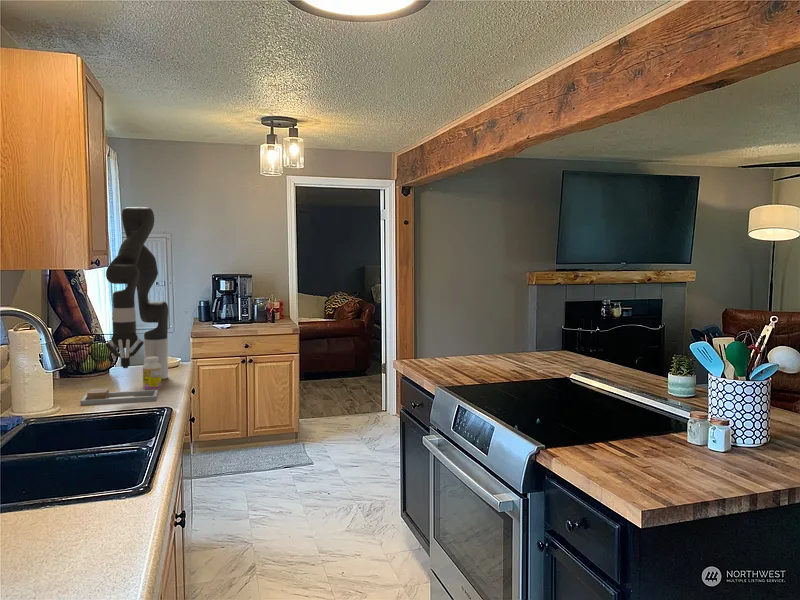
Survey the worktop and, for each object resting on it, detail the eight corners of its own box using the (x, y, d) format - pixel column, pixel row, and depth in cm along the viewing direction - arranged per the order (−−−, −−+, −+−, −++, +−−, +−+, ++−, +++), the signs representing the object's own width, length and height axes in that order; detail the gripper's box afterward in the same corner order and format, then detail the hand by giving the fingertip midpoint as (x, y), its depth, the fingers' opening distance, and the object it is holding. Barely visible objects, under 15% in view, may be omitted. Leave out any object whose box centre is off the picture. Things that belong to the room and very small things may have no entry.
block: (90, 399, 209) (90, 389, 209) (108, 398, 211) (108, 388, 211) (87, 403, 203) (87, 393, 203) (106, 401, 205) (106, 392, 205)
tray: (86, 400, 211) (86, 393, 211) (158, 396, 219) (158, 389, 219) (80, 407, 201) (80, 400, 201) (156, 403, 209) (156, 396, 208)
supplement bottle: (140, 389, 230) (140, 356, 229) (158, 386, 234) (157, 355, 234) (146, 392, 225) (145, 359, 224) (163, 389, 229) (163, 357, 228)
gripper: (145, 318, 214) (146, 364, 215) (105, 319, 210) (106, 366, 211) (143, 320, 207) (144, 369, 208) (102, 321, 202) (103, 370, 204)
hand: (125, 367), depth 210 cm, fingers closed
